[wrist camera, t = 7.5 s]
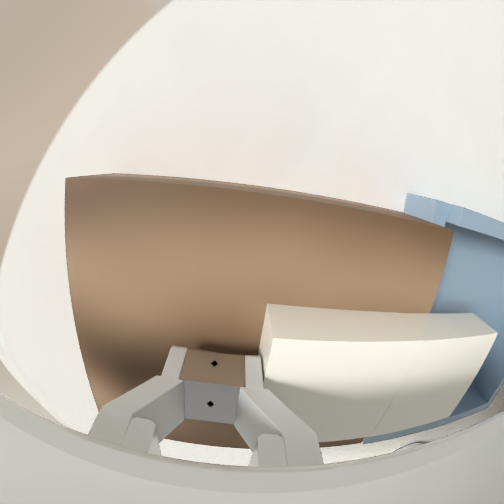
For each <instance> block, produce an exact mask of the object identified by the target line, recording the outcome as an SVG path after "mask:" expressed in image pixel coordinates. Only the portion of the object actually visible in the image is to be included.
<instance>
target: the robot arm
mask: <svg viewBox="0 0 504 504" xmlns="http://www.w3.org/2000/svg"><path fill="white" fill-rule="evenodd" d="M184 418H187V419H194V420H203V421H212V422H219V423H227V424H234V426H235V428H236V429H237V431H238V432H239V434H240V435H241V436H242V438H243V439H244V441H245V442H246V444H247V445H248V446H249V448H250V449H251V450H252V452H253V454H252V457H251V460H250V463H249V466H231V465H219V464H209V463H201V462H194V461H187V460H181V459H175V458H170V457H165V456H161V451H160V446H159V443H160V442H161V441H162V440H163V439H164V438H165V437H166V436H167V435H168V434H170V433H171V432H172V431H173V430H174V429H175V428H176V427H177V426H178V425H179V424H180V423H181V422H182V421H184V420H185V419H184ZM0 504H504V410H503V411H502V412H500V413H498V414H496V415H494V416H492V417H490V418H488V419H486V420H484V421H482V422H480V423H477V424H475V425H473V426H471V427H468V428H466V429H464V430H461V431H459V432H456V433H454V434H451V435H448V436H446V437H443V438H440V439H437V440H434V441H431V442H428V443H425V444H422V445H418V446H415V447H412V448H408V449H404V450H400V451H397V452H392V453H388V454H384V455H379V456H374V457H369V458H364V459H358V460H352V461H345V462H338V463H330V464H324V463H323V459H322V455H321V451H320V447H319V443H318V439H317V435H316V432H314V431H313V430H312V429H311V428H310V427H309V426H308V425H307V424H305V423H304V422H303V421H302V420H301V419H300V418H299V417H298V416H296V415H295V414H294V413H293V412H292V411H291V410H290V409H289V408H288V407H287V406H286V405H285V404H283V403H282V402H281V401H280V400H279V399H278V398H277V397H276V396H275V395H274V394H273V393H272V392H271V391H270V390H269V389H264V385H263V375H262V365H261V357H260V356H254V355H235V354H226V353H218V352H211V351H205V350H199V349H192V348H186V347H180V346H174V345H173V346H172V347H171V349H170V352H169V355H168V358H167V360H166V363H165V366H164V369H163V372H162V375H161V376H157V375H156V376H155V377H153V378H151V379H149V380H148V381H146V382H144V383H143V384H141V385H139V386H137V387H136V388H134V389H132V390H130V391H128V392H127V393H125V394H123V395H121V396H119V397H118V398H116V399H114V400H112V401H110V402H108V403H107V404H105V405H103V406H102V407H101V409H100V411H99V413H98V415H97V417H96V419H95V421H94V423H93V425H92V427H91V429H90V432H89V434H88V435H87V434H84V433H81V432H79V431H76V430H74V429H71V428H69V427H66V426H64V425H62V424H59V423H57V422H55V421H52V420H51V419H48V418H46V417H44V416H42V415H40V414H38V413H36V412H34V411H32V410H30V409H28V408H26V407H24V406H23V405H21V404H19V403H17V402H16V401H14V400H12V399H11V398H9V397H7V396H5V395H4V394H2V393H1V392H0Z"/></svg>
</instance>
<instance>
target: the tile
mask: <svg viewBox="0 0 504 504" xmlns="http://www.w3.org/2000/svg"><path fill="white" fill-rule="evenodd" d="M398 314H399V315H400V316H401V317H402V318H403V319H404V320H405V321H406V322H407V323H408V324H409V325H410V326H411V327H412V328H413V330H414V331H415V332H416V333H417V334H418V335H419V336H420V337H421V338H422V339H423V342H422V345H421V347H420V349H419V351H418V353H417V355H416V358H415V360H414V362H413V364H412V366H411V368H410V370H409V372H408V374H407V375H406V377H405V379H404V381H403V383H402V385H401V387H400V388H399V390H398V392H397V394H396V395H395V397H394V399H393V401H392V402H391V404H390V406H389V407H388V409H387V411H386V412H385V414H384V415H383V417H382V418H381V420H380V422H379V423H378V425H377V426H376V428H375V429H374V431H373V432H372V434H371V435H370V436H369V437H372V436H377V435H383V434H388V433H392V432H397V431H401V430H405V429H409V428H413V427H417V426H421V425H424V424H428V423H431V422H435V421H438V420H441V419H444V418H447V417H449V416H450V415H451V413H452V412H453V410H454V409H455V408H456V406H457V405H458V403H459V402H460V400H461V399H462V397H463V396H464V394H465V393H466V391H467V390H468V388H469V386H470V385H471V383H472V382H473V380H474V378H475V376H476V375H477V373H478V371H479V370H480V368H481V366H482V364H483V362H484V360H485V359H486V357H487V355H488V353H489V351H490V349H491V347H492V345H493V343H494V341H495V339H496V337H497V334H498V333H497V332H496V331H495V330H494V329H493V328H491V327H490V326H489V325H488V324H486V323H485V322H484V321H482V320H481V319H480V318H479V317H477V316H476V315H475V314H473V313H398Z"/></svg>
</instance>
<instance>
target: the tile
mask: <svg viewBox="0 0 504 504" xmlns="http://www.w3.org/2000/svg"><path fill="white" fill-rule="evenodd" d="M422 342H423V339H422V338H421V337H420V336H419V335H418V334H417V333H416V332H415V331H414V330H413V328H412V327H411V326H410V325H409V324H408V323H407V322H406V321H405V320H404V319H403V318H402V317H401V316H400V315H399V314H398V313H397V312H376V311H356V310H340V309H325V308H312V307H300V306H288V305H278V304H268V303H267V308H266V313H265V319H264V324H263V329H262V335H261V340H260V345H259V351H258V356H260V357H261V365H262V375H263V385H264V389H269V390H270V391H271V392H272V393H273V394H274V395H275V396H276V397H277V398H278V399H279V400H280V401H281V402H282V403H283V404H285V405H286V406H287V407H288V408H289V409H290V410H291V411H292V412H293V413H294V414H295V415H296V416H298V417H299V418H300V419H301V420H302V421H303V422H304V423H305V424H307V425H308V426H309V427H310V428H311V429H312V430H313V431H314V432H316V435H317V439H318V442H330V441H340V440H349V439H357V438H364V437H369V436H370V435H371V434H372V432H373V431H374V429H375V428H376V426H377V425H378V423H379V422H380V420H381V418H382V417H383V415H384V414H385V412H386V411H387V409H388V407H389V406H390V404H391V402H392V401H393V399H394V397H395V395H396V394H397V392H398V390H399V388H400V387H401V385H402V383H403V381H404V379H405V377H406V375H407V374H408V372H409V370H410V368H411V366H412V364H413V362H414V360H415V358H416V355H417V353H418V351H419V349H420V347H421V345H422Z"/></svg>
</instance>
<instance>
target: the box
mask: <svg viewBox="0 0 504 504" xmlns="http://www.w3.org/2000/svg"><path fill="white" fill-rule="evenodd" d="M404 213H406V214H409V215H412V216H415V217H418V218H421V219H423V220H426V221H429V222H432V223H435V224H437V225H440V226H443V227H446V228H448V229H451V230H453V231H454V234H453V238H452V242H451V246H450V250H449V254H448V258H447V261H446V265H445V268H444V272H443V275H442V278H441V282H440V285H439V288H438V291H437V294H436V297H435V299H434V302H433V305H432V308H431V310H430V313H473V314H475V315H476V316H477V317H479V318H480V319H481V320H482V321H484V322H485V323H486V324H488V325H489V326H490V327H491V328H493V329H494V330H495V331H496V332H497V333H498V334H497V337H496V339H495V341H494V343H493V345H492V347H491V349H490V351H489V353H488V355H487V357H486V359H485V360H484V362H483V364H482V366H481V368H480V370H479V371H478V373H477V375H476V376H475V378H474V380H473V382H472V383H471V385H470V386H469V388H468V390H467V391H466V393H465V394H464V396H463V397H462V399H461V400H460V402H459V403H458V405H457V406H456V408H455V409H454V410H453V412H452V413H451V415H450V416H449V417H447V418H444V419H441V420H438V421H435V422H431V423H428V424H424V425H421V426H417V427H413V428H409V429H405V430H401V431H397V432H392V433H388V434H383V435H377V436H372V437H365V438H364V439H363V443H364V444H367V443H373V442H378V441H383V440H388V439H393V438H398V437H402V436H406V435H410V434H414V433H418V432H421V431H425V430H428V429H432V428H435V427H438V426H441V425H444V424H447V423H450V422H453V421H456V420H458V419H461V418H464V417H466V416H469V415H471V414H474V413H476V412H479V411H481V410H483V409H486V408H488V406H489V405H490V403H491V402H492V400H493V399H494V398H495V396H496V395H497V393H498V391H499V390H500V388H501V387H502V385H503V384H504V223H503V222H500V221H498V220H495V219H493V218H490V217H488V216H485V215H483V214H480V213H477V212H475V211H472V210H469V209H466V208H464V207H460V206H456V205H452V204H448V203H445V202H442V201H439V200H436V199H431V198H427V197H422V196H418V195H413V194H408V193H407V198H406V204H405V209H404Z"/></svg>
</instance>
